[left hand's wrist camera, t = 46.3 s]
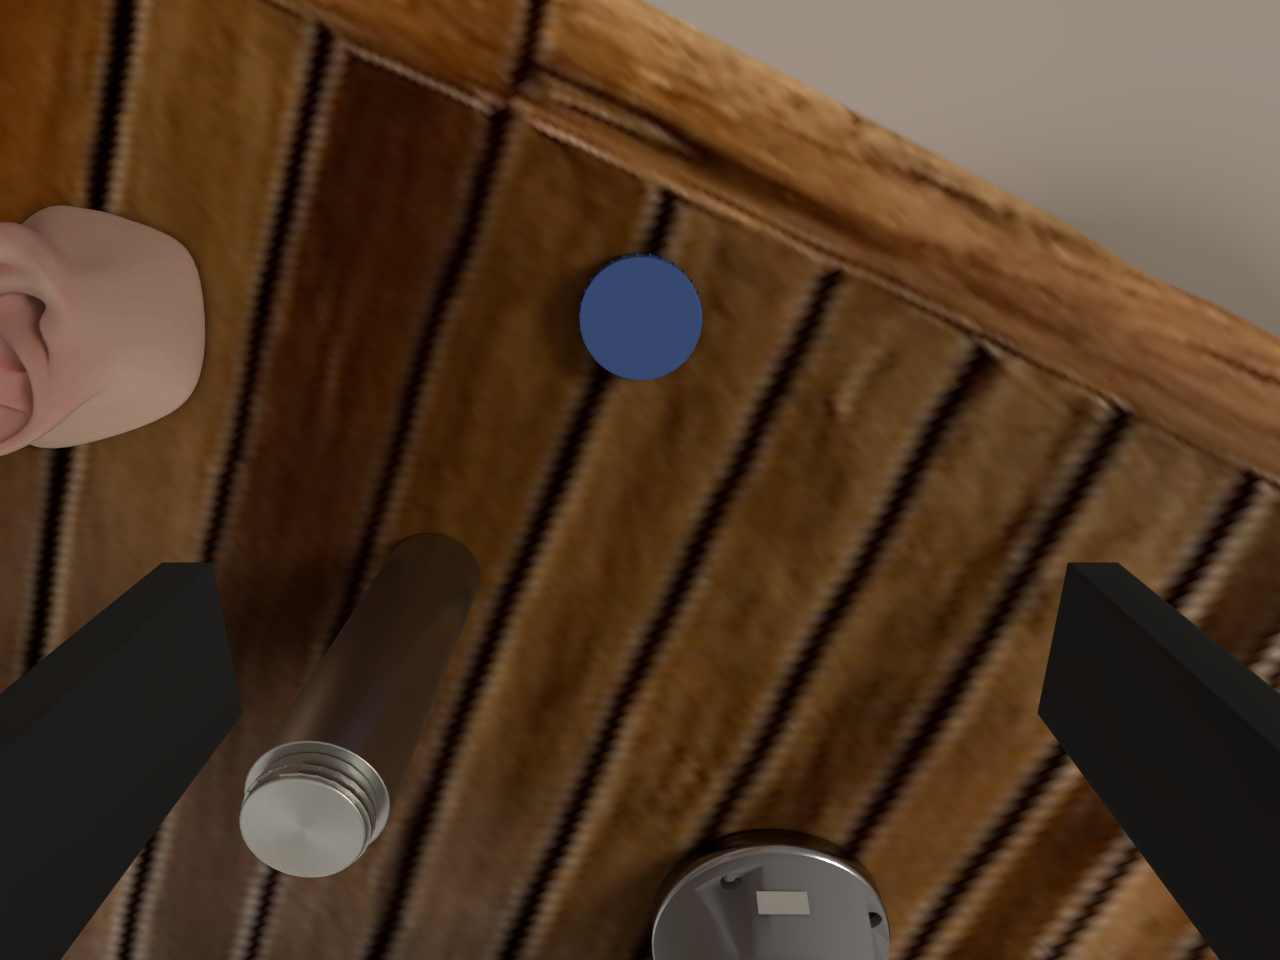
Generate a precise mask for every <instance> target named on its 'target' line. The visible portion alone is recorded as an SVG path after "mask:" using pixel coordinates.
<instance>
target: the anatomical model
mask: <svg viewBox="0 0 1280 960" xmlns="http://www.w3.org/2000/svg"><path fill="white" fill-rule="evenodd" d="M204 348H205V315H204V303H203V294H202V289H201V283H200V278H199V274H198V270H197V268H196V265H195V263H194V260H193V258H192V257H191V255H190V253H189V252H188V251H187V249H186V248H185V247H184V246H183V245H182V244H181V243H180V242H178V241H177V240H176V239H174V238H172V237H171V236H169V235H167V234H165V233H163V232H160V231H158V230H156V229H154V228H152V227H149V226H146V225H143V224H140V223H137V222H134V221H131V220H128V219H126V218H123V217H120V216H116V215H113V214H109V213H106V212H102V211H96V210H90V209H85V208H79V207H73V206H51V207H47V208H44V209H42V210H40V211H38V212H37V213H35V214H33V215H32V216H30V217H29V218H28V219H27V220H26V221H24V222H23V223H22V224H17V223H12V222H0V456H2V455H6V454H8V453H11V452H14V451H17V450H19V449H21V448H23V447H25V446H27V445H29V444H30V445H33V446H36V447H41V448H62V447H70V446H75V445H80V444H85V443H90V442H94V441H98V440H102V439H105V438H108V437H112V436H115V435H118V434H121V433H124V432H127V431H130V430H133V429H136V428H139V427H141V426H144V425H147V424H149V423H152V422H154V421H156V420H158V419H160V418H162V417H164V416H166V415H168V414H169V413H171V412H173V411H174V410H176V409H177V408H178V407H180V406H181V405H182V404H183V403H184V402H185V401H186V400H187V399H188V398H189V396H190V395H191V394H192V392H193V390H194V388H195V386H196V384H197V382H198V379H199V376H200V373H201V368H202V363H203V358H204Z"/></svg>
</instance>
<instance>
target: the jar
mask: <svg viewBox="0 0 1280 960" xmlns="http://www.w3.org/2000/svg"><path fill="white" fill-rule="evenodd" d="M479 584H480V574H479V569H478V565H477V563H476V561H475V559H474V557H473V556H472V554H471V553H470V552H469V551H468V550H467V548H466V547H464V546H463V545H462V544H461V543H459V542H458V541H456V540H454V539H452V538H450V537H447V536H444V535H440V534H433V533H426V534H419V535H415V536H412V537H410V538H408V539H406V540H404V541H403V542H401V543H400V544H399V545H398V546H397V547H396V548H395V549H394V551H393V552H392V554H391V555H390V557H389V558H388V560H387V561H386V563H385V564H384V566H383V567H382V569H381V570H380V572H379V573H378V575H377V576H376V578H375V579H374V581H373V582H372V584H371V586H370V587H369V589H368V590H367V592H366V593H365V595H364V596H363V598H362V599H361V601H360V602H359V604H358V605H357V607H356V608H355V610H354V611H353V613H352V614H351V616H350V617H349V619H348V621H347V622H346V624H345V625H344V627H343V628H342V630H341V631H340V633H339V634H338V636H337V637H336V639H335V640H334V642H333V643H332V645H331V646H330V648H329V649H328V651H327V652H326V654H325V656H324V657H323V659H322V660H321V662H320V663H319V665H318V666H317V668H316V669H315V671H314V672H313V674H312V675H311V677H310V678H309V680H308V681H307V683H306V684H305V686H304V687H303V689H302V690H301V692H300V694H299V695H298V697H297V698H296V700H295V701H294V703H293V704H292V706H291V707H290V709H289V710H288V712H287V713H286V715H285V716H284V718H283V719H282V721H281V722H280V724H279V725H278V727H277V729H276V730H275V732H274V733H273V735H272V736H271V738H270V739H269V741H268V742H267V744H266V745H265V747H264V748H263V750H262V751H261V753H260V754H259V756H258V757H257V759H256V760H255V762H254V764H253V765H252V767H251V768H250V770H249V772H248V774H247V777H246V781H245V789H244V793H245V797H244V799H243V802H242V807H241V811H240V818H239V823H240V830H241V834H242V836H243V839H244V841H245V843H246V844H247V846H248V847H249V849H250V850H251V851H252V852H253V853H254V854H255V855H256V856H257V857H258V858H259V859H260V860H262V861H263V862H264V863H266V864H267V865H269V866H270V867H272V868H274V869H276V870H279V871H281V872H284V873H287V874H291V875H295V876H300V877H321V876H327V875H331V874H334V873H337V872H339V871H341V870H343V869H345V868H347V867H348V866H350V865H351V864H352V863H353V862H355V861H357V860H358V859H359V857H360V856H361V855H362V854H363V853H364V852H365V851H366V849H367V847H368V845H369V844H370V843H372V842H373V841H374V840H375V839H376V838H377V837H378V836H379V835H380V834H381V832H382V831H383V830H384V828H385V826H386V824H387V822H388V819H389V817H390V814H391V812H392V809H393V806H394V804H395V801H396V799H397V796H398V794H399V791H400V788H401V786H402V783H403V781H404V778H405V776H406V773H407V771H408V768H409V765H410V763H411V760H412V758H413V755H414V753H415V750H416V748H417V745H418V742H419V740H420V737H421V735H422V732H423V730H424V727H425V724H426V722H427V719H428V717H429V714H430V712H431V709H432V707H433V704H434V701H435V699H436V696H437V694H438V691H439V689H440V686H441V684H442V681H443V678H444V676H445V673H446V671H447V668H448V666H449V663H450V661H451V658H452V655H453V653H454V650H455V648H456V645H457V643H458V640H459V637H460V635H461V632H462V630H463V627H464V625H465V622H466V620H467V617H468V614H469V612H470V609H471V607H472V604H473V602H474V599H475V597H476V594H477V591H478V588H479Z"/></svg>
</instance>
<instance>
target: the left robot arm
mask: <svg viewBox="0 0 1280 960" xmlns="http://www.w3.org/2000/svg"><path fill="white" fill-rule="evenodd" d="M241 715H242V709H241V704H240V699H239V694H238V689H237V684H236V679H235V674H234V669H233V664H232V659H231V654H230V649H229V644H228V639H227V634H226V629H225V624H224V619H223V614H222V609H221V604H220V600H219V595H218V590H217V585H216V580H215V575H214V570H213V565H212V563H161V564H160V565H159V566H157V567H156V568H155V569H154V570H152V571H151V572H150V573H149V574H148V575H146V576H145V577H144V578H143V579H141V580H140V581H139V582H138V583H136V584H135V585H134V586H133V587H131V588H130V589H129V590H128V591H127V592H125V593H124V594H123V595H122V596H120V597H119V598H118V599H117V600H115V601H114V602H113V603H112V604H110V605H109V606H108V607H107V608H106V609H104V610H103V611H102V612H101V613H99V614H98V615H97V616H96V617H94V618H93V619H92V620H91V621H90V622H88V623H87V624H86V625H85V626H83V627H82V628H81V629H80V630H78V631H77V632H76V633H75V634H73V635H72V636H71V637H70V638H69V639H67V640H66V641H65V642H64V643H62V644H61V645H60V646H59V647H57V648H56V649H55V650H54V651H52V652H51V653H50V654H49V655H48V656H46V657H45V658H44V659H43V660H41V661H40V662H39V663H38V664H36V665H35V666H34V667H33V668H31V669H30V670H29V671H28V672H27V673H25V674H24V675H23V676H22V677H20V678H19V679H18V680H17V681H15V682H14V683H13V684H12V685H11V686H9V687H8V688H7V689H6V690H4V691H3V692H2V693H1V694H0V960H61V958H62V957H63V955H64V954H65V953H66V951H67V950H68V949H69V947H70V946H71V945H72V943H73V942H74V941H75V939H76V938H77V937H78V935H79V934H80V932H81V931H82V930H83V928H84V927H85V926H86V924H87V923H88V922H89V920H90V919H91V918H92V916H93V915H94V914H95V912H96V911H97V909H98V908H99V907H100V905H101V904H102V903H103V901H104V900H105V899H106V897H107V896H108V895H109V893H110V892H111V891H112V889H113V888H114V886H115V885H116V884H117V882H118V881H119V880H120V878H121V877H122V876H123V874H124V873H125V872H126V870H127V869H128V868H129V866H130V865H131V863H132V862H133V861H134V859H135V858H136V857H137V855H138V854H139V853H140V851H141V850H142V849H143V847H144V846H145V845H146V843H147V842H148V840H149V839H150V838H151V836H152V835H153V834H154V832H155V831H156V830H157V828H158V827H159V826H160V824H161V823H162V822H163V820H164V819H165V817H166V816H167V815H168V813H169V812H170V811H171V809H172V808H173V807H174V805H175V804H176V803H177V801H178V800H179V799H180V797H181V796H182V794H183V793H184V792H185V790H186V789H187V788H188V786H189V785H190V784H191V782H192V781H193V780H194V778H195V777H196V776H197V774H198V773H199V771H200V770H201V769H202V767H203V766H204V765H205V763H206V762H207V761H208V759H209V758H210V757H211V755H212V754H213V753H214V751H215V750H216V748H217V747H218V746H219V744H220V743H221V742H222V740H223V739H224V738H225V736H226V735H227V734H228V732H229V731H230V730H231V728H232V727H233V725H234V724H235V723H236V721H237V720H238V719H239V717H240V716H241ZM1038 715H1039V716H1040V717H1041V719H1042V720H1043V721H1044V723H1045V724H1046V725H1047V727H1048V728H1049V730H1050V731H1051V732H1052V734H1053V735H1054V736H1055V738H1056V739H1057V740H1058V742H1059V743H1060V744H1061V746H1062V747H1063V748H1064V750H1065V751H1066V753H1067V754H1068V755H1069V757H1070V758H1071V759H1072V761H1073V762H1074V763H1075V765H1076V766H1077V767H1078V769H1079V770H1080V771H1081V773H1082V774H1083V776H1084V777H1085V778H1086V780H1087V781H1088V782H1089V784H1090V785H1091V786H1092V788H1093V789H1094V790H1095V792H1096V793H1097V794H1098V796H1099V797H1100V799H1101V800H1102V801H1103V803H1104V804H1105V805H1106V807H1107V808H1108V809H1109V811H1110V812H1111V813H1112V815H1113V816H1114V817H1115V819H1116V820H1117V822H1118V823H1119V824H1120V826H1121V827H1122V828H1123V830H1124V831H1125V832H1126V834H1127V835H1128V836H1129V838H1130V839H1131V840H1132V842H1133V843H1134V845H1135V846H1136V847H1137V849H1138V850H1139V851H1140V853H1141V854H1142V855H1143V857H1144V858H1145V859H1146V861H1147V862H1148V863H1149V865H1150V866H1151V868H1152V869H1153V870H1154V872H1155V873H1156V874H1157V876H1158V877H1159V878H1160V880H1161V881H1162V882H1163V884H1164V885H1165V886H1166V888H1167V889H1168V891H1169V892H1170V893H1171V895H1172V896H1173V897H1174V899H1175V900H1176V901H1177V903H1178V904H1179V905H1180V907H1181V908H1182V909H1183V911H1184V912H1185V914H1186V915H1187V916H1188V918H1189V919H1190V920H1191V922H1192V923H1193V924H1194V926H1195V927H1196V928H1197V930H1198V931H1199V932H1200V934H1201V935H1202V937H1203V938H1204V939H1205V941H1206V942H1207V943H1208V945H1209V946H1210V947H1211V949H1212V950H1213V951H1214V953H1215V954H1216V955H1217V957H1218V958H1219V960H1280V694H1279V693H1278V692H1277V691H1276V690H1274V689H1273V688H1272V687H1271V686H1269V685H1268V684H1267V683H1266V682H1265V681H1263V680H1262V679H1261V678H1260V677H1258V676H1257V675H1256V674H1255V673H1253V672H1252V671H1251V670H1250V669H1249V668H1247V667H1246V666H1245V665H1244V664H1242V663H1241V662H1240V661H1239V660H1237V659H1236V658H1235V657H1234V656H1232V655H1231V654H1230V653H1229V652H1228V651H1226V650H1225V649H1224V648H1223V647H1221V646H1220V645H1219V644H1218V643H1216V642H1215V641H1214V640H1213V639H1211V638H1210V637H1209V636H1208V635H1207V634H1205V633H1204V632H1203V631H1202V630H1200V629H1199V628H1198V627H1197V626H1195V625H1194V624H1193V623H1192V622H1190V621H1189V620H1188V619H1187V618H1186V617H1184V616H1183V615H1182V614H1181V613H1179V612H1178V611H1177V610H1176V609H1174V608H1173V607H1172V606H1171V605H1170V604H1168V603H1167V602H1166V601H1165V600H1163V599H1162V598H1161V597H1160V596H1158V595H1157V594H1156V593H1155V592H1153V591H1152V590H1151V589H1150V588H1149V587H1147V586H1146V585H1145V584H1144V583H1142V582H1141V581H1140V580H1139V579H1137V578H1136V577H1135V576H1134V575H1132V574H1131V573H1130V572H1129V571H1128V570H1126V569H1125V568H1124V567H1123V566H1121V565H1120V564H1119V563H1068V565H1067V570H1066V575H1065V580H1064V585H1063V590H1062V595H1061V600H1060V604H1059V609H1058V614H1057V619H1056V624H1055V629H1054V634H1053V639H1052V644H1051V649H1050V654H1049V659H1048V664H1047V669H1046V674H1045V679H1044V684H1043V689H1042V694H1041V699H1040V704H1039V709H1038ZM889 943H890V928H889V921H888V918H887V914H886V911H885V908H884V905H883V902H882V899H881V896H880V893H879V890H878V888H877V885H876V883H875V881H874V880H873V878H872V876H871V874H870V873H869V872H868V870H867V869H866V868H865V867H864V866H863V865H862V864H861V862H860V861H859V860H857V859H856V858H855V857H854V856H853V855H851V854H850V853H849V852H847V851H846V850H844V849H843V848H841V847H839V846H837V845H835V844H834V843H831V842H829V841H827V840H824V839H822V838H819V837H816V836H812V835H808V834H804V833H799V832H792V831H781V830H765V831H754V832H747V833H742V834H738V835H733V836H730V837H727V838H724V839H721V840H718V841H716V842H713V843H711V844H709V845H707V846H705V847H703V848H701V849H699V850H698V851H696V852H695V853H693V854H692V855H690V856H689V857H688V858H686V859H685V860H684V861H682V862H681V863H680V864H679V865H678V866H677V867H676V868H675V869H674V870H673V871H672V872H671V874H670V875H669V876H668V877H667V879H666V880H665V882H664V883H663V885H662V886H661V888H660V890H659V892H658V894H657V897H656V899H655V903H654V907H653V912H652V951H653V958H654V960H889Z"/></svg>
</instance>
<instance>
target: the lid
mask: <svg viewBox="0 0 1280 960" xmlns="http://www.w3.org/2000/svg"><path fill="white" fill-rule="evenodd" d="M693 285H694V283H693V281H692V280H691V281H690V280H689V278H688V277H687V276H686V273H685V271H684V270H683V271H682V270H681V269H679V268H678V267H677V266H676V264H675V262H673V263H671V262H670V261H668V260H666V259H664V257H663V256H661V257H658V256H654V255H651V253H649V255H648V254H638V252H636V254H633V255H628V256H625V254H624V255H623V257H621V258H618V259H616V260H613V259H612V260H611V262H610V263H609V264H607V265H606V266H605V267H601V268H600V271H599V272H598V273H597V274H596V275H595V276H592V278H591V282H590V284H589V286H588V287H586V288H585V290H584V292H585V294H584V297H583V299H581V301H580V304H581V307H580V312H579V315H578V317H580V320H579V322H580V328H579V329H580V330H581V334H582V338H583V342H584V343H585V345H586V347H587V349H588V351H589V353H590V354H591V355H592V357H593V358H594V359H595V360H596V361H597V362H598V363H599V364H600V365H601V366H602V367H604V368H605V369H606V370H608V371H609V372H611V373H613V374H615V375H617V376H620V377H623V378H626V379H632V380H650V379H655V378H659V377H662V376H664V375H667V374H668V373H670V372H672V371H674V370H675V369H677V368H678V367H679V366H680V365H682V364H683V363H684V362H685V361H686V360H687V358H689V356H690V355H691V353H692V352H693V350H694V348H695V347H696V344H697V342H698V339H699V336H700V335H701V327H702V323H703V319H702V309H703V307H702V305H701V304H700V301H699V298H698V297H700V296H699V293H698V292H696V291H695V289H694V287H693Z"/></svg>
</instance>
